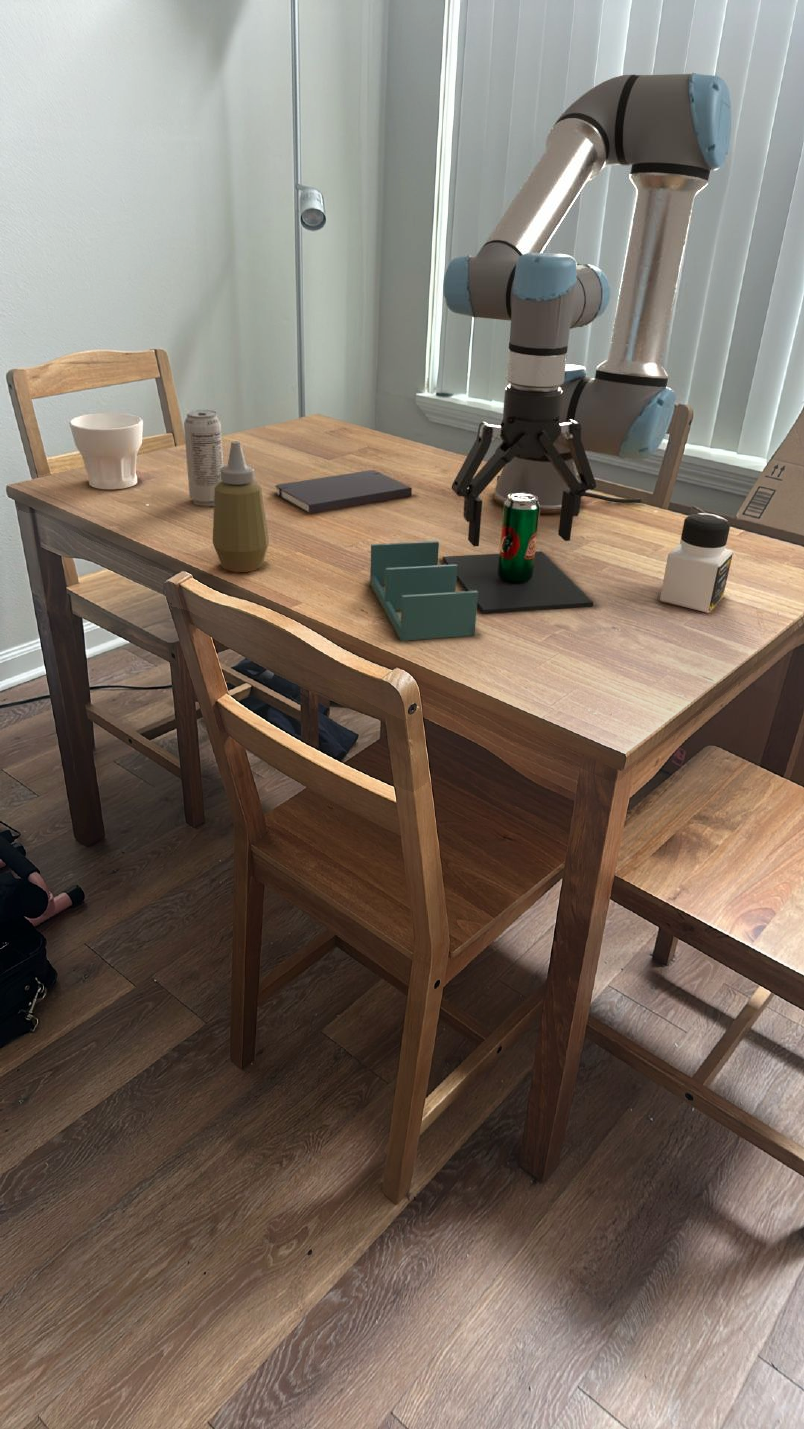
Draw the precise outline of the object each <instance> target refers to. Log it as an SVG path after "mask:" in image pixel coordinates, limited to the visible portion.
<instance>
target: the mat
mask: <svg viewBox="0 0 804 1429" xmlns="http://www.w3.org/2000/svg"><path fill="white" fill-rule="evenodd" d="M442 561H443V563H444V565H452V564H456V565H457V578H456V581H458V583H459V584H460V585H461V587H462V588H463V589H464V591H477V592H478V599H477V609H478V610H479V611H480V612H481V614H498V613H511V612H525V611H541V610H556V609H558V610H559V609H569V608H572V609H573V608H585V607H594V601H593V600H592V599H591V598H590V597H589V596H588V595H587V594H586V593H585V592H584V591H583V590H582V589H580V587H579V586H577V585H576V583H575V582H574V581H573V580H571V579H570V578H569V576H567V575H566V574H565V572H564V571H562V570H561V568H560V567H558V566H557V565H556V564H555V563H554V561H552V560H551V558H549V556H547V555H546V553H544V552H543V551H540V550H539V551H535V559H534V568H533V576H532V578H531V579H530V580H529V581H528V582H525V583H520V584H514V583H508V582H505V581H503V580H502V579H501V578H500V577H499V576H498V574H497V573H498V562H499V553H486V554H484V553H483V554H468V555H467V554H465V555H448V556H442Z"/></svg>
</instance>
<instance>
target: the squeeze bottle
mask: <svg viewBox="0 0 804 1429" xmlns="http://www.w3.org/2000/svg"><path fill="white" fill-rule="evenodd" d="M220 474H221V482H220V483H218V484H217V485H216V486H215V492H214V506H213V518H212V519H213V520H212V522H213V523H212V545H213V548H214V550H215V552H216V555H217V557H218V559H219V562H220V565H221V567H222V568H223V569H225V571H230V572H235V573H246V572H247V573H248V572H253V571H257V570H258V569H260V568H262V566H263V564H264V560H265V557H266V554H267V551H268V547H269V545H270V539H269V531H268V525H267V518H266V512H265V504H264V503H265V502H264V496H263V491H262V486H261V485H260V484H259V483H258V482H257V481H255V469H254V467H253V466H251V465H247V464H246V459H245V456H244V452H243V448H242V444H241V442H240V441H237V440H233V441H231V443H230V449H229V455H228V461H227V464H226V465H223V467H222V468H221V469H220Z"/></svg>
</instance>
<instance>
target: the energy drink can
mask: <svg viewBox="0 0 804 1429" xmlns="http://www.w3.org/2000/svg"><path fill="white" fill-rule="evenodd" d="M183 429H184V430H183V431H184V442H185V453H186V456H185V457H186V468H187V481H188V493H189V499H191V500H192V501H193V504H194V505H197V506H200V507H214V492H215V486H216V485H217V484H218V483H220V482H221V474H220V469H221V468H222V467H224V454H223V438H222V423H221V421H220V419H219V418H218V416H217V412H216V411H215V410H210V409H193V410H189V411H187V412H186V418H185V420H184V422H183Z"/></svg>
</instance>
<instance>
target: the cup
mask: <svg viewBox="0 0 804 1429" xmlns="http://www.w3.org/2000/svg"><path fill="white" fill-rule="evenodd" d="M68 423H69V428H70V430H71V435H72V438H73V441H74V446H75V447H76V449H77V451H78V452H79V453H80V455H81V458H82V460H83V464H84V467H85V471H86V474H87V476H88V484H89V486H90V487H92V488H94V489H97V490H102V491H103V490H105V491H107V490H108V491H112V490H113V491H116V490H124V489H128V488H131V487H133V486H135V485H137V483H138V476H137V472H136V470H137V456H138V452H139V450H140V448H141V446H142V444H143V430H144V428H143V427H144V421H143V419H142V418H141V417H140V416H137V415H134V414H129V413H122V412H97V413H88V414H82V415H79V416H75V417H73V418H72V419H70V420H69V421H68Z"/></svg>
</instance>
